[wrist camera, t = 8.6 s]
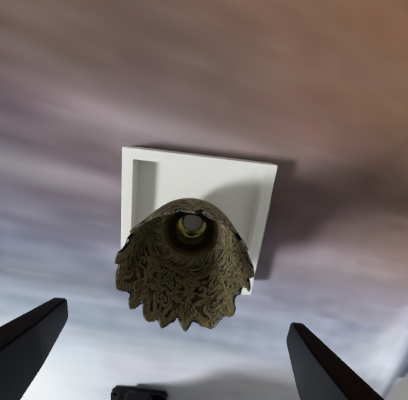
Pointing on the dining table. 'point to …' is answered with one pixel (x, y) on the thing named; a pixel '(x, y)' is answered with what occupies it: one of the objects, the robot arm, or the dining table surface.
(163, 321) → the brown hollow flared piece
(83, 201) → the dining table surface
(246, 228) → the white tray
